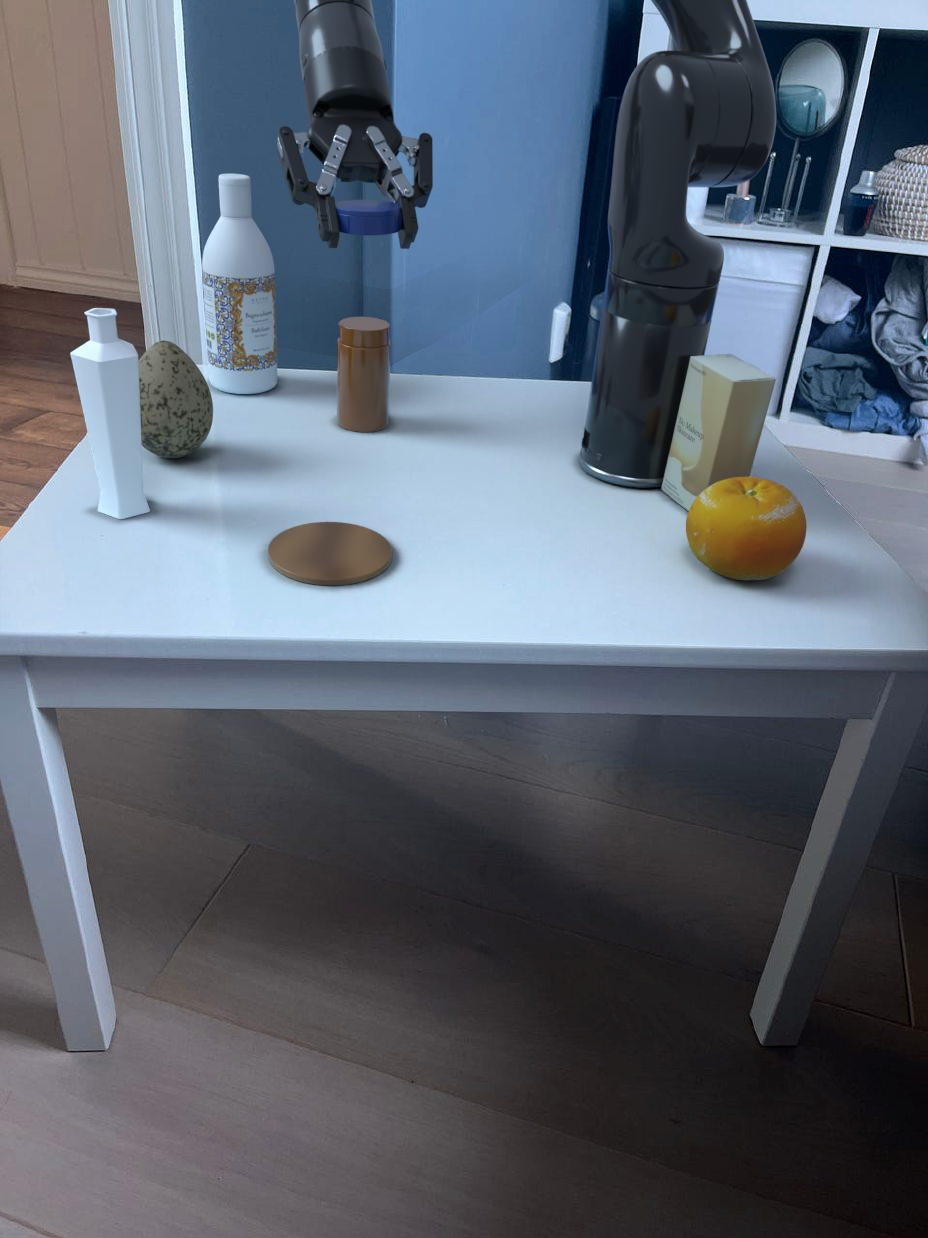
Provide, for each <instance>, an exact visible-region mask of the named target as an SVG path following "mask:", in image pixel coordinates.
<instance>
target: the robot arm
mask: <svg viewBox="0 0 928 1238" xmlns="http://www.w3.org/2000/svg"><path fill="white" fill-rule="evenodd" d="M293 2H294V10H295V11H294V12H295V18H296V25H297V31H298V39H299V40H298V41H299V44H298V45H299V48H298V51H299V55H298V56H299V65H300V71H301V78H302V84H303V92H304V98H305V99H304V100H305V105H306V111H307V119H308V127H307V129H306V130H307V131H297V132H294V130H293V129H292V128H291V127H290V126H286V125H283V126H281V127H280V128H279V129H278V134H277V135H278V136H277V143H276V144H277V145H276V154H277V157H278V160H279V164H280V166H281V170H282V172H283V176H284V180H285V182H286V185H287V186H286V187H287V188H288V191H289V195H290V198H291V201H292V203H293V204H295V205H296V206H303V205H304V204H306V205H309V206H311V207H312V208H313V209H314V210H315V211H314V212H315V215H316V222H317V229H318V236H319V238H320V239H321V241H322V242H327V248H328V249H338V246H339V241H340V232H339V226H338V219H337V212H336V206H335V203H336V200H335V199H336V198H335V196H333V194H334V191H335V189H336V187H337V184H338V181H339V180H340V182H341V183H351V182H352V183H353V182H357V181H359V182H363V183H366V184H368V183H369V184H375V186H376V187H377V189H378V190H379V192H380V194H381V195H382V196H385V197H387V199H388V200H389V202H392V203H396V204H398V205H400V206H401V213H402V219H401V230H400V231H399V232H397V236H398V242H399V247H400V249H401V250H402V249H403V250H410V247H411V245H412V243H415V241H416V237H417V234H418V231H419V223H418V218H417V211H416V210H417V209H416V208H419V209H423V208H426V206H427V204H428V201H429V198H430V196H431V193H432V190H433V187H434V185H433V184H434V183H433V182H434V179H433V178H434V176H433V175H434V174H433V173H434V172H433V170H434V169H433V165H434V164H433V162H434V161H433V158H434V157H433V156H434V155H433V152H434V150H433V149H434V147H433V146H434V145H433V137H432V135H431V134H430V133H427V132H422V133H420V134H419V136H418V138H415V137H409V136H403V135H402V132H401V130H400V129H399V128H398V127H397V125H396V123H395V118H394V111H393V104H392V99H391V94H390V87H389V80H388V76H387V74H388V73H387V68H388V67H387V61H386V59H385V56H384V52H383V47H382V43H381V39H380V35H379V33H378V31H377V27H376V26H377V25H376V20H375V14H374V8H373V3H372V0H293ZM650 2H652V4H653V5H654V7H655V8H656V10H657V11H658V12H659V14H660V16H661V18H662V19H663V20H664V22H665V24H666V26H667V28H668V30H669V32H670V36H671V38H672V40H673V41H672V42H673V44H674V46H675V49H676V50H657V51H654V52H652V53H650V54H648V55H646V56H645V57H644V58H642V60H641V61H640V62H639V63H637V65H636V67H635V68H634V70H633V72H632V73H631V75H630V76H629V79H628V81H627V83H626V86H625V88H624V92H623V95H622V98H621V102H620V105H619V110H618V116H617V117H618V118H617V123H616V131H615V139H614V140H615V141H614V151H613V162H612V172H611V173H612V174H611V175H612V176H611V183H610V184H611V185H610V195H609V203H608V213H607V231H608V232H607V235H608V243H609V257H608V258H609V259H608V264H607V265H608V266H607V272H606V278H605V284H604V285H605V286H604V292H603V299H602V300H603V301H602V305H601V306H602V308H601V312H600V313H601V314H600V321H599V326H598V327H599V328H598V334H597V341H596V347H595V355H594V362H593V369H592V370H593V371H592V376H591V382H590V389H589V397H588V401H587V402H588V403H587V409H586V416H585V422H584V425H583V431H582V432H581V433H582V437H581V448H580V451H579V455H578V464H579V466H580V467H581V469H582V470H584V471H585V472H586V473H587V474H589V475H591V476H592V477H595V478H597V479H598V480H602V481H604V482H607V483H610V484H613V485H619V486H623V487H631V488H643V489H644V488H647V489H648V488H659V487H662V483H663V479H664V474H665V470H666V465H667V461H668V456H669V452H670V447H671V443H672V438H673V434H674V429H675V425H676V420H677V416H678V411H679V407H680V402H681V398H682V393H683V389H684V384H685V380H686V375H687V371H688V366H689V362H690V357H691V356H700V355H706V349H707V343H708V339H709V335H710V329H711V325H712V320H713V315H714V310H715V304H716V300H717V295H718V291H719V286H720V281H721V277H722V272H723V266H724V263H725V262H724V261H725V250H724V247H723V245H721V243H720V242H718V240H716V239H714V238H712V237H709V236H708V235H706V234H704V233H702V232H699V231H697V230H696V228H694V227H693V226H692V225H691V224H690V222H689V220H688V218H687V202H688V192H689V191H688V190H689V188H727V187H735V186H739V185H742V184H744V183H747V182H749V181H750V180H753V178H755V177H756V175H758V174H759V172H760V171H761V170H762V169H763V168H764V165H765V164H766V162H767V161H768V158H769V156H770V154H771V150H772V148H773V143H774V139H775V135H776V127H777V106H776V105H777V104H776V94H775V87H774V83H773V79H772V75H771V70H770V68H769V67H770V66H769V64H768V62H767V61H768V60H767V57H766V55H765V51H764V49H763V46H762V42H761V39H760V37H759V34H758V31H757V28H756V25H755V21H754V19H753V16H752V13H751V9H750V7H749V4H748V0H650ZM306 149H308V151H309V152H310V153H311V154H312V155H313V156H314V157H315V158H316V159H317V160H318V161H319V162H320V163H321V164H322V166H323V167H322V169H321V173H320V176H319V178H318V180H317V183H316V182H313V181H310V180H309V178H308V174H307V171H306V168H305V165H304V162H303V159H304V154H305V150H306ZM400 153H402V154H404V155H405V158H406V161H407V163H408V166H409V167H411V168H413V185H411V183H410V181H409V179H408V178H407V177H406V175H405V174H404V171H403V166H402V164H401V162H400V161H399V159H398V157H397V156H399V154H400Z"/></svg>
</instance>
